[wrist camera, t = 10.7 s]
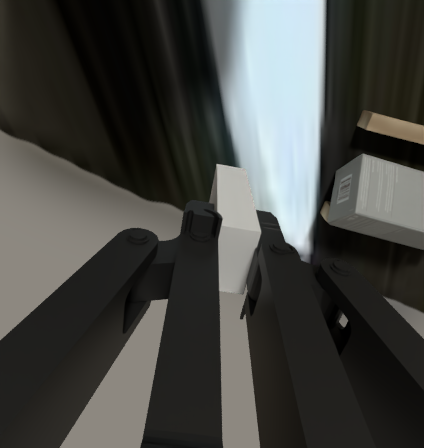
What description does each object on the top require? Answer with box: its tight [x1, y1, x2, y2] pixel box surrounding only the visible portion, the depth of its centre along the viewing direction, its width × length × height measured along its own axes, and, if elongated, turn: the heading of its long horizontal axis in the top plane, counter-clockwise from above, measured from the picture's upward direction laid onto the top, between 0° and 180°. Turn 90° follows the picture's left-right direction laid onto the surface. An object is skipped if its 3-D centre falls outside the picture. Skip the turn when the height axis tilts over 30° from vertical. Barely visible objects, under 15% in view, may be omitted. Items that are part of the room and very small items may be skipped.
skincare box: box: [327, 154, 424, 250], centre depth 43 cm, size 8×7×16 cm
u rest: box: [320, 110, 424, 222], centre depth 45 cm, size 15×18×5 cm
